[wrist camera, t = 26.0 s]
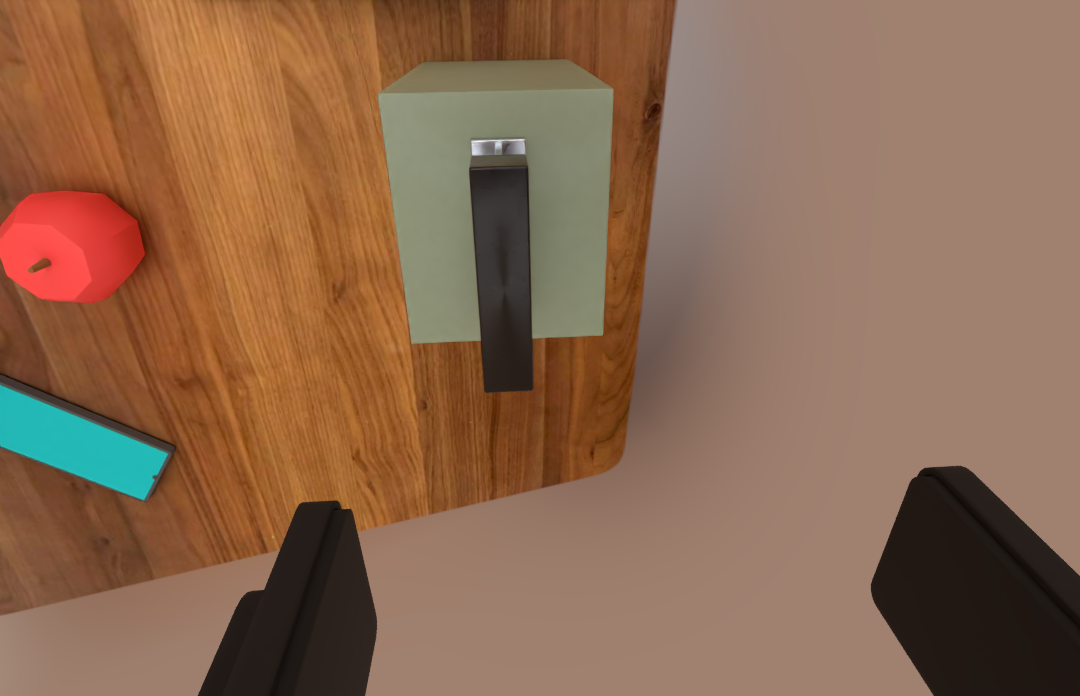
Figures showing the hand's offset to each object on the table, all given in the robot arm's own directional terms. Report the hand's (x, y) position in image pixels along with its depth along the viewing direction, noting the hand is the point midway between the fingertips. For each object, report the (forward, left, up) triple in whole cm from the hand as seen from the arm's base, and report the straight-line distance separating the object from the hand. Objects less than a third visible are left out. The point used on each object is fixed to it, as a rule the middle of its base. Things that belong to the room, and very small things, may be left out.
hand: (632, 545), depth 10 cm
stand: (+2, +1, -38) cm, 38 cm away
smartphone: (+41, +25, -38) cm, 61 cm away
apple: (+32, +6, -38) cm, 50 cm away
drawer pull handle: (+2, +1, -20) cm, 20 cm away
